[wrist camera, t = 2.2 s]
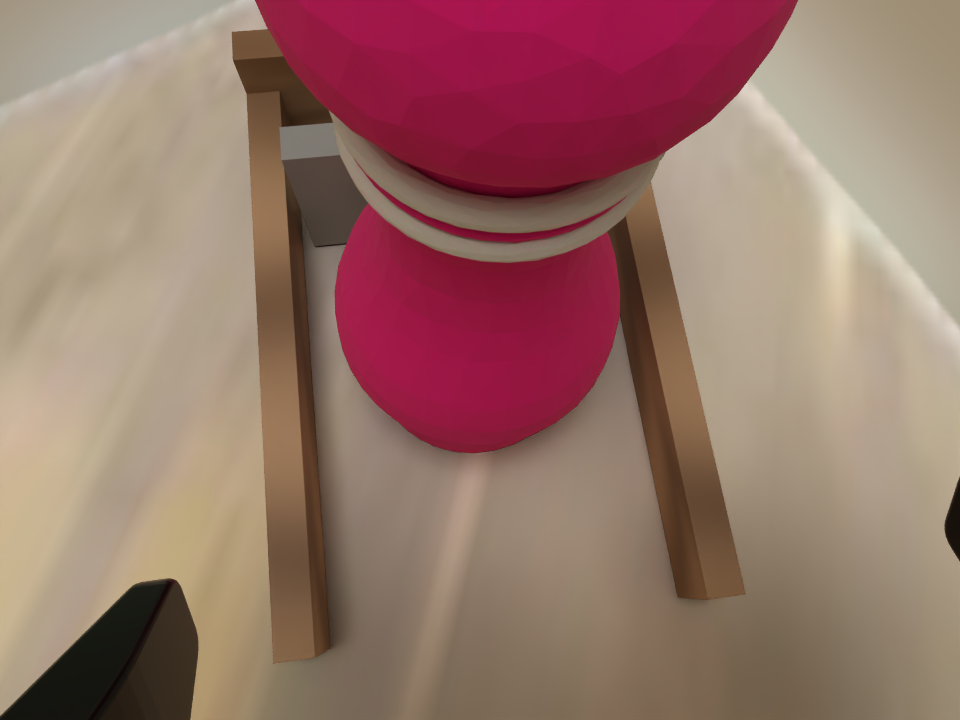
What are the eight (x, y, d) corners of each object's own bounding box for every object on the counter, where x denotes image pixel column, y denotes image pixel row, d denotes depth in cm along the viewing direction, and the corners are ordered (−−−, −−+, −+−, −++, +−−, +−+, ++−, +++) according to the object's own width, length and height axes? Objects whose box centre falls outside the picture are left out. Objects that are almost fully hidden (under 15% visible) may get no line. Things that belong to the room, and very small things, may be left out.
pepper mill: (568, 489, 22) (1535, -230, 2) (332, 446, 22) (-529, -588, 2) (597, 273, 24) (1233, -1007, 5) (383, 234, 24) (132, -1189, 5)
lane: (711, 592, 21) (770, 595, 17) (294, 653, 20) (258, 670, 16) (601, 88, 26) (628, 2, 22) (264, 116, 25) (231, 31, 21)
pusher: (589, 218, 24) (625, 129, 19) (314, 246, 23) (281, 160, 19) (584, 192, 24) (618, 98, 20) (312, 218, 24) (279, 127, 19)
